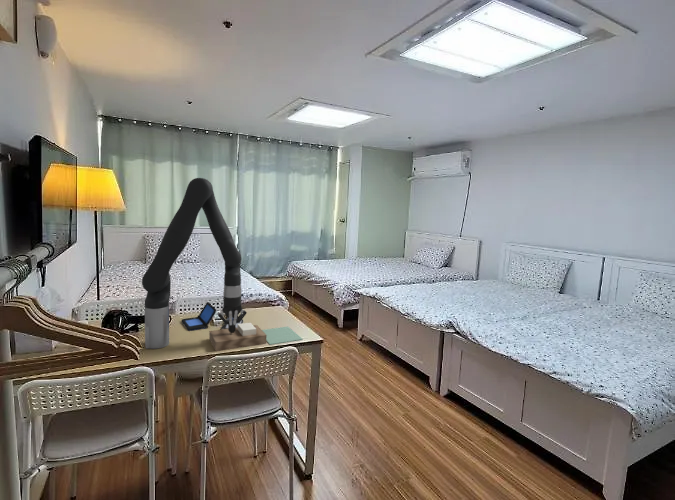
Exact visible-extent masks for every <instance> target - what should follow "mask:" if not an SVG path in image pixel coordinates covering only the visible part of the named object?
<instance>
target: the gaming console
mask: <svg viewBox="0 0 675 500" xmlns="http://www.w3.org/2000/svg"><path fill="white" fill-rule="evenodd" d="M225 319H226V320H227V321H228V318H225ZM242 323H244V319H242V320H241V321H240V323H237V324H236V328H237V327H238V324H242ZM222 329H228V324H225V323H224V322H223V325H222Z"/></svg>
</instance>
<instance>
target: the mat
mask: <svg viewBox="0 0 675 500" xmlns="http://www.w3.org/2000/svg"><path fill="white" fill-rule="evenodd" d="M261 330H262V331H263V332H264V333H265V334H266V335H267V338H266V343H268V345H269V346H270V345H278V344H284V343H289V342H297V341H303V340H304V339H303V338H302V337H301V336H300V335H299V334H298V333H296V332H295V331H294V330H293V329H292V328H291V327H289V326H282V327H281V326H280V327H275V328H267V329H261Z"/></svg>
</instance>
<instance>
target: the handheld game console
mask: <svg viewBox="0 0 675 500" xmlns="http://www.w3.org/2000/svg"><path fill="white" fill-rule="evenodd" d="M216 313H217V308H215V307H214V306H213V305H212V304H211V303H210V301H209V302H208V301H206V303H205V304H204V306H203V308H202V309H201V311H200V313H199V314H198V315H197V316H194V317H189V318H188V317H187V318H183V319H181V323H182V324H183V326H184V327H185V329H186V330H187V331H189V332H190V331H198V330H204V329H208V328H209V325H210V323H211V321H212V319H213V318H214V317H215V314H216Z"/></svg>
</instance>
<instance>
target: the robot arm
mask: <svg viewBox="0 0 675 500" xmlns="http://www.w3.org/2000/svg"><path fill="white" fill-rule="evenodd" d="M201 210H203V212H204V215H205V217H206V221H207V223H208V226H209V227H208V228H209V229H210V233H211V234H212V236H213V239H214V241H215V243H216V244H217V246H218V248H219V251H220V254H221V256H222V259H223V260H224V277H223V282H224V283H223V293H222V295H223V305H222V309H221V311H220V312H216V313H217V314H216V315H217V316H218V317H219V318H220V320H221V321H222V322H223V324H224V323H225V324H228V330H229V332H230V333H234V331H235V330H236V324H237V323H240V321H241V320H244V318H245V316H246V315H247V313H248V312H247V311H246V310H245V309H243V307H242V275H241V262H242V254H241V252H240V251H239V249H238V247H237V246H236V243H235V242H234V241H235V240H234V238H233V237H234V236H233V235H232V233H231V231H230V229H229V226H228V225H227V223H226V220H225V218H224V217H223V215H222V212H221V209H220V207H219V204H218V202H217V200H216V196H215V193H214V187H213V185H212V183H211V181H209V180H208V179H206V178H203V177H195V178H193V179H192V180H190V181H189V182H188V185H187V186H186V190H185V194H184V197H183V199H182V202H181V204H180V206H179V207H178V208H177V211H176V213H175V214H174V216H173V218H172V219H171V220H170V223H169V225H168V227H167V228H166V231H165V233H164V235H163V237H162V240H161V242H160V244H159V246H158V248H157V252H156V254H155V255H154V258H153V260H152V262H151V263H150V265H149V267H148V268H147V269H146V271H145V273H144V274H143V275H142V279H141V285H142V287H143V289H144V290H145V291H146V297H145V300H144V345H145V349H146V350H147V349H152V350H153V349H163V348H166V347H168V346H169V345H170V298H171V289H172V288H171V287H172V286H171V285H172V284H171V283H172V282H171V275H170V272H171V269H172V266H173V265H174V264H175V262H176V261H177V259H178V258H179V256H180V255H181V254H182V252H183V251H184V249H185V248H186V246H187V244H188V243H189V240H190V238H191V236H192V234H193V230H194V229H195V227H196V226H195V225H196V221H197V217H198V215H199V213H200V211H201ZM224 314H225V315H224ZM225 316H226V317H227V318H225ZM226 319H228V321H227V320H226Z"/></svg>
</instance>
